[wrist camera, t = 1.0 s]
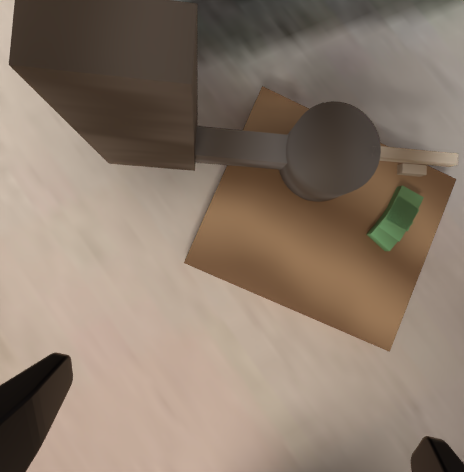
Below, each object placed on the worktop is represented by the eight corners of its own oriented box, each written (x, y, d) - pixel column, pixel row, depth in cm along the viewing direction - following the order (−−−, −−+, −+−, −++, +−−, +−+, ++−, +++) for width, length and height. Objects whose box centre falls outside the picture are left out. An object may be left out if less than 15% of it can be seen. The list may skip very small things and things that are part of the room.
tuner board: (377, 345, 24) (394, 354, 22) (184, 262, 23) (183, 263, 20) (440, 183, 25) (463, 177, 22) (258, 96, 23) (264, 81, 21)
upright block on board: (424, 132, 23) (638, 22, 12) (422, 209, 22) (636, 171, 11) (113, 101, 21) (20, -64, 10) (107, 185, 21) (4, 111, 10)
